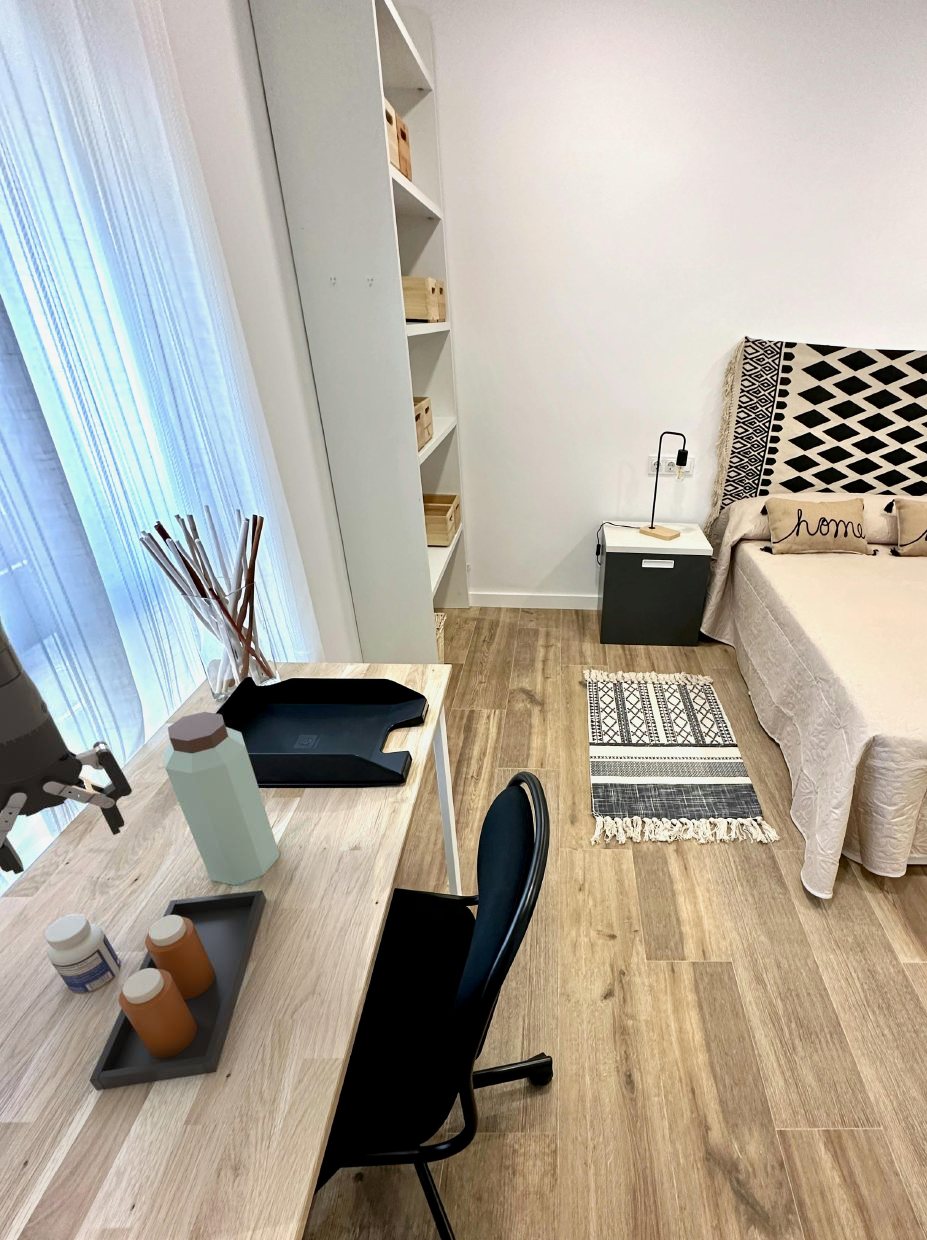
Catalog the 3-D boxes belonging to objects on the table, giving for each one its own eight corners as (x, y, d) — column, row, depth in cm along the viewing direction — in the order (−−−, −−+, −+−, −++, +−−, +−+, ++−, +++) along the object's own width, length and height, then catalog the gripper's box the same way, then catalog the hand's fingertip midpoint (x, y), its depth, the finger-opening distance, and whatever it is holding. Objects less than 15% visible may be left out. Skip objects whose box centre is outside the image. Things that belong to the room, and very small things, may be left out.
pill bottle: (86, 961, 79) (53, 910, 74) (131, 958, 80) (102, 906, 75) (62, 1001, 75) (25, 949, 70) (110, 997, 76) (77, 945, 70)
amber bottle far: (141, 1062, 68) (105, 1007, 63) (157, 1020, 72) (125, 965, 67) (189, 1055, 69) (158, 1000, 64) (202, 1014, 73) (174, 959, 67)
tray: (100, 1095, 66) (88, 1080, 65) (177, 915, 86) (170, 900, 84) (218, 1077, 68) (210, 1062, 67) (268, 904, 88) (262, 890, 86)
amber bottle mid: (164, 1003, 74) (133, 947, 69) (178, 967, 78) (150, 912, 72) (208, 997, 75) (181, 941, 69) (220, 962, 79) (195, 907, 73)
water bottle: (258, 832, 99) (213, 697, 86) (296, 860, 95) (255, 722, 81) (194, 870, 92) (135, 729, 79) (232, 902, 88) (176, 759, 74)
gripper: (81, 681, 65) (136, 802, 73) (-109, 732, 56) (-21, 861, 65) (97, 711, 60) (153, 836, 69) (-108, 772, 52) (-13, 905, 60)
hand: (68, 848), depth 67 cm, fingers open, 8 cm apart
